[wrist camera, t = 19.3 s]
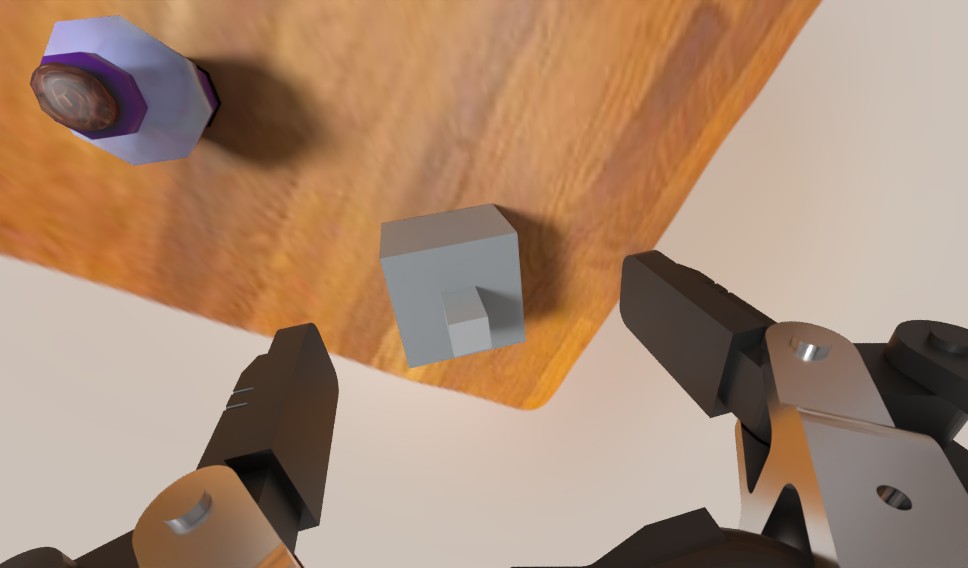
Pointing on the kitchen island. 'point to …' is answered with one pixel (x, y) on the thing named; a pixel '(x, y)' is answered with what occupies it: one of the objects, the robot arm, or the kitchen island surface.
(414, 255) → the grey block
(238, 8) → the kitchen island surface
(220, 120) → the kitchen island surface
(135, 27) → the potion bottle
